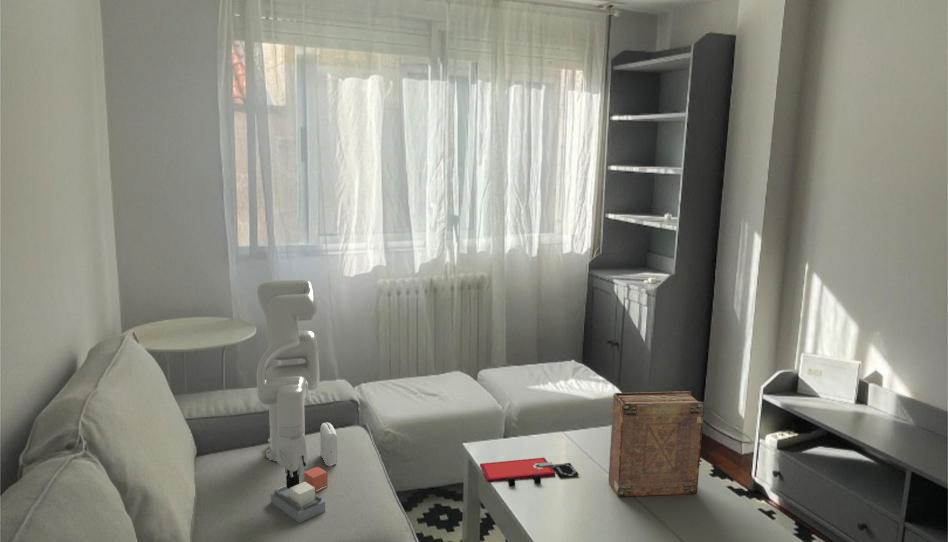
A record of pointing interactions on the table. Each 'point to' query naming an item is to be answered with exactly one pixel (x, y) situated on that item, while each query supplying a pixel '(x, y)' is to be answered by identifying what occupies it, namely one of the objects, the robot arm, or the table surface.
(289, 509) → the grey tray
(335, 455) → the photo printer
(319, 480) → the red cube
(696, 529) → the table surface
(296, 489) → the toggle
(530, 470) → the red board with handle
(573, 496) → the table surface
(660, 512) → the table surface
